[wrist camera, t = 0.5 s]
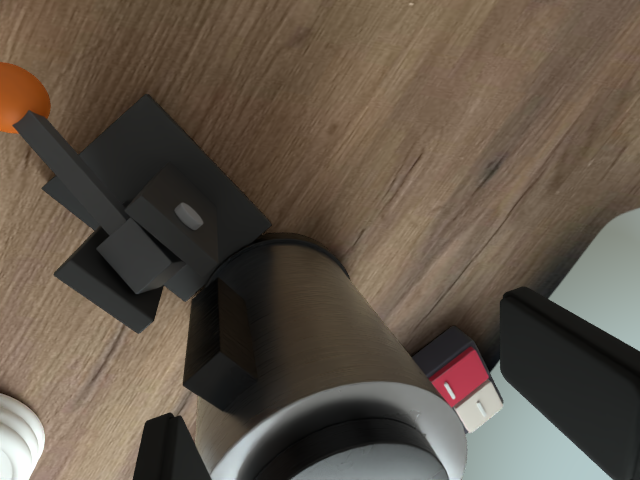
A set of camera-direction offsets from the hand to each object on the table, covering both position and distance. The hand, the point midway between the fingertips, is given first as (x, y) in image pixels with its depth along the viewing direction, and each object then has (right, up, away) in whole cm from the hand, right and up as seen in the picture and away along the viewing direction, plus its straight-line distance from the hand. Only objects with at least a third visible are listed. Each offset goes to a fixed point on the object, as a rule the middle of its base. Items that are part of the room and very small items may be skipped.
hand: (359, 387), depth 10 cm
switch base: (-12, +7, +16) cm, 22 cm away
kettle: (-5, -1, +22) cm, 22 cm away
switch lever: (-13, +7, +9) cm, 17 cm away
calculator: (+9, -13, +30) cm, 34 cm away
